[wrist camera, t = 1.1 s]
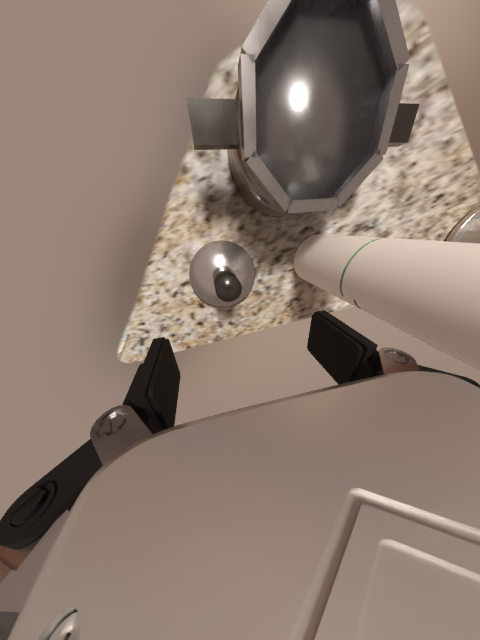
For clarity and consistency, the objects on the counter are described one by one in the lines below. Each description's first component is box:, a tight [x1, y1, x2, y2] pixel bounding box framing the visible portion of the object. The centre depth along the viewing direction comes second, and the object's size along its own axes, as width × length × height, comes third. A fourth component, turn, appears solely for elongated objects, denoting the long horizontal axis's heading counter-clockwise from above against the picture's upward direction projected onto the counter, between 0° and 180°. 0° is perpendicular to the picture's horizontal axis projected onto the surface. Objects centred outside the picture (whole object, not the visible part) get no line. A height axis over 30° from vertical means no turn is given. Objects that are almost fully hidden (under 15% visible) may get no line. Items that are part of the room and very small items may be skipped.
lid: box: [189, 241, 255, 307], centre depth 23 cm, size 10×10×7 cm
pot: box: [187, 0, 419, 217], centre depth 17 cm, size 21×14×8 cm, turn 94°
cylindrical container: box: [294, 234, 480, 370], centre depth 17 cm, size 7×7×25 cm
